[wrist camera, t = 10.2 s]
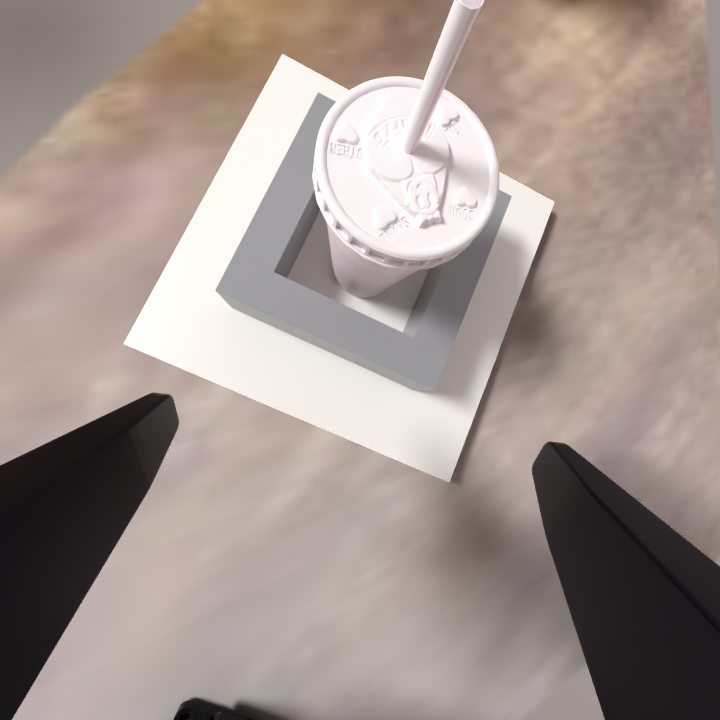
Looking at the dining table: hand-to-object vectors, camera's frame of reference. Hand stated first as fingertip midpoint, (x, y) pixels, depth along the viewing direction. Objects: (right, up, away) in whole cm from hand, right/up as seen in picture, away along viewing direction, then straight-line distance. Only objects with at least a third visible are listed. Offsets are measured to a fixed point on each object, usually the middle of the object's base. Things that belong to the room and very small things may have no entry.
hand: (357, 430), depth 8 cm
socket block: (0, +7, +13) cm, 15 cm away
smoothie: (0, +7, +13) cm, 14 cm away
